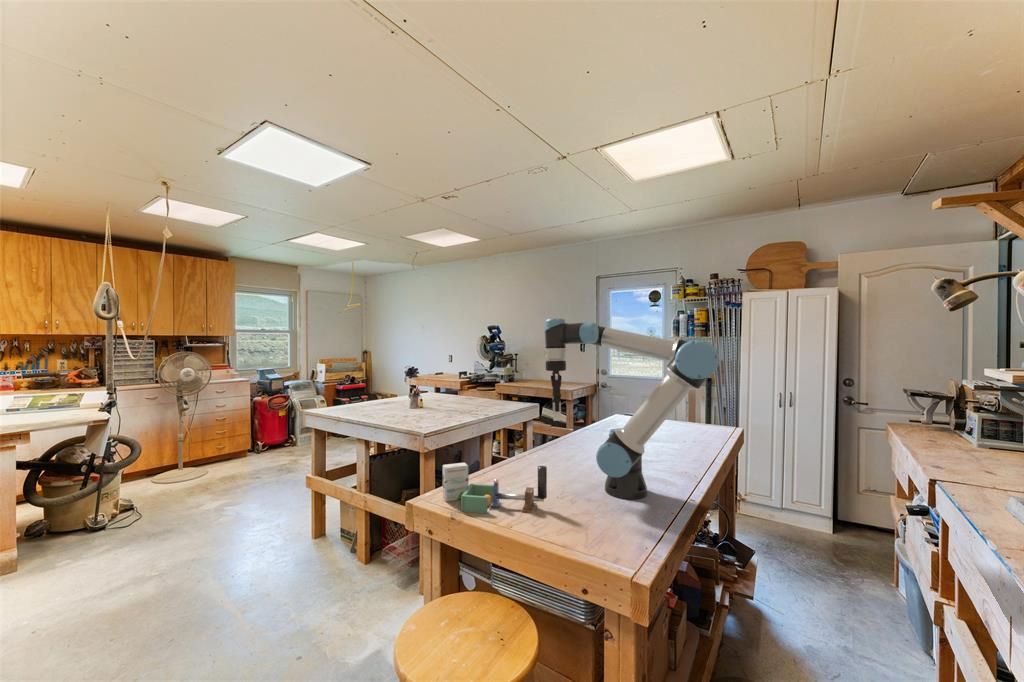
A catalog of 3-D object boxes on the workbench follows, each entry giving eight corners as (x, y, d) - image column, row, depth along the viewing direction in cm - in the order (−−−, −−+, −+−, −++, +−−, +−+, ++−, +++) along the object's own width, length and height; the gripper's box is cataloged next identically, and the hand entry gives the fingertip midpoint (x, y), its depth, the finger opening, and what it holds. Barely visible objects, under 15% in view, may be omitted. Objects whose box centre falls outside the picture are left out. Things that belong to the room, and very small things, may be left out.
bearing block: (536, 504, 134) (536, 486, 134) (534, 513, 127) (534, 494, 127) (524, 503, 135) (524, 485, 135) (522, 512, 128) (522, 493, 128)
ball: (491, 491, 135) (482, 494, 135) (489, 495, 131) (479, 498, 132) (494, 501, 135) (485, 504, 135) (492, 506, 131) (482, 509, 132)
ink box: (465, 493, 144) (465, 461, 144) (468, 498, 140) (469, 465, 140) (442, 497, 141) (442, 464, 141) (445, 502, 136) (445, 468, 137)
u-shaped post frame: (547, 506, 132) (547, 465, 132) (546, 510, 128) (546, 468, 129) (494, 503, 134) (494, 463, 135) (492, 507, 131) (492, 466, 132)
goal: (495, 499, 139) (495, 484, 139) (487, 513, 127) (487, 497, 127) (470, 497, 140) (470, 483, 140) (461, 511, 129) (461, 496, 129)
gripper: (545, 359, 159) (546, 411, 158) (545, 361, 134) (546, 423, 133) (564, 359, 158) (565, 411, 157) (567, 360, 133) (568, 423, 133)
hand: (556, 417), depth 145 cm, fingers open, 13 cm apart
